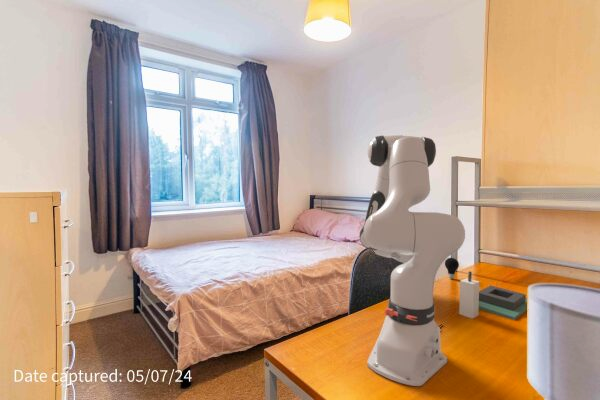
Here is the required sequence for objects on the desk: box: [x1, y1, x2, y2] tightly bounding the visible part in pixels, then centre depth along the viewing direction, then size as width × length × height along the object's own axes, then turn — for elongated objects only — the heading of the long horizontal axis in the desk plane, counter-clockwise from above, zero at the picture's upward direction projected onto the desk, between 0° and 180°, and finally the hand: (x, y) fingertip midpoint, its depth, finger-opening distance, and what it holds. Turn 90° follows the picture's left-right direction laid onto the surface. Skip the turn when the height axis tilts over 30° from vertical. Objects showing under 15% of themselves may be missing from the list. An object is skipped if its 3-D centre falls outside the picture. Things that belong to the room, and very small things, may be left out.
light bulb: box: [444, 257, 460, 280], centre depth 142 cm, size 6×6×10 cm
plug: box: [458, 270, 480, 319], centre depth 106 cm, size 4×4×16 cm
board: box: [478, 285, 528, 321], centre depth 115 cm, size 22×16×4 cm
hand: (436, 258), depth 115 cm, fingers open, 8 cm apart
